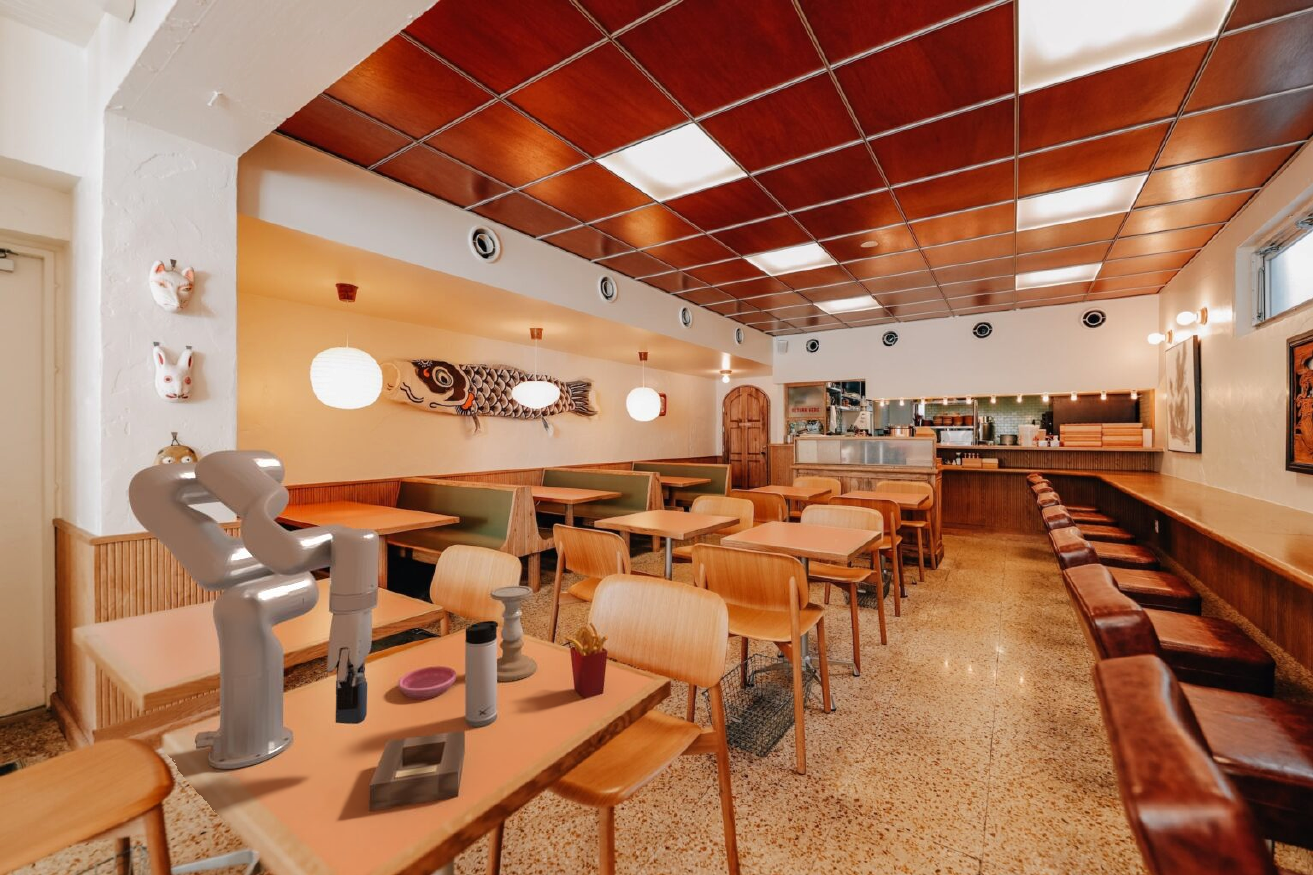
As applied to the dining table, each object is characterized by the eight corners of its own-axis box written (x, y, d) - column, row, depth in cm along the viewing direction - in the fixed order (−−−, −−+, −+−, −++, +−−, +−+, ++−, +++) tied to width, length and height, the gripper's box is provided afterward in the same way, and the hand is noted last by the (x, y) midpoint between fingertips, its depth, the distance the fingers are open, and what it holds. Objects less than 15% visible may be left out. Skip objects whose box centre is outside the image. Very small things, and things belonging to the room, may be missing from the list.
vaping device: (340, 715, 97) (342, 649, 97) (369, 717, 97) (370, 650, 97) (331, 723, 94) (333, 655, 94) (360, 724, 94) (362, 656, 94)
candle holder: (522, 657, 144) (521, 581, 144) (546, 671, 135) (546, 590, 135) (477, 670, 135) (477, 590, 136) (500, 686, 126) (500, 600, 127)
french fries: (609, 693, 123) (608, 627, 123) (576, 703, 118) (575, 635, 118) (590, 679, 130) (590, 617, 130) (559, 688, 125) (559, 624, 125)
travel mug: (489, 728, 108) (488, 628, 108) (459, 725, 109) (459, 626, 109) (504, 713, 114) (503, 618, 114) (475, 710, 115) (475, 617, 115)
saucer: (462, 693, 124) (462, 679, 124) (403, 708, 117) (403, 693, 117) (449, 674, 134) (449, 661, 134) (394, 687, 127) (394, 673, 127)
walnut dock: (369, 810, 84) (369, 783, 84) (387, 763, 96) (388, 739, 96) (458, 796, 87) (458, 770, 87) (464, 751, 100) (464, 729, 100)
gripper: (344, 588, 103) (341, 684, 103) (313, 615, 87) (310, 729, 87) (387, 586, 105) (384, 680, 104) (365, 613, 89) (362, 724, 89)
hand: (351, 701), depth 96 cm, fingers closed on vaping device, 3 cm apart
